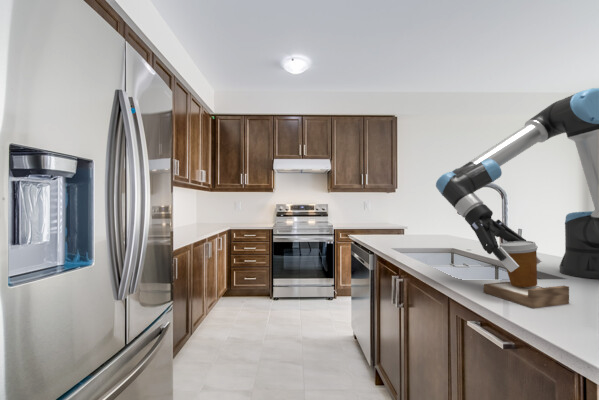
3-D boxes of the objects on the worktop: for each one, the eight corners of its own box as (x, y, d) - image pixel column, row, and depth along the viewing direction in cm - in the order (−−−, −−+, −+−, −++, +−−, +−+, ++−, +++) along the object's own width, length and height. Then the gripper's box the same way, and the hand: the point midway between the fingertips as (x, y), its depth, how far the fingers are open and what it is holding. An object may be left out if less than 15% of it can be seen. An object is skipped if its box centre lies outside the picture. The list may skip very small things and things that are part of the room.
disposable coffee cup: (551, 287, 89) (543, 243, 90) (512, 290, 91) (505, 247, 92) (534, 279, 99) (527, 239, 99) (499, 282, 101) (493, 243, 101)
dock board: (516, 288, 102) (516, 274, 102) (569, 303, 87) (569, 286, 87) (483, 292, 98) (483, 277, 98) (532, 308, 84) (532, 290, 84)
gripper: (486, 218, 114) (536, 269, 101) (442, 220, 100) (493, 279, 88) (502, 202, 109) (556, 254, 96) (459, 203, 96) (515, 263, 83)
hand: (526, 266), depth 92 cm, fingers open, 13 cm apart
